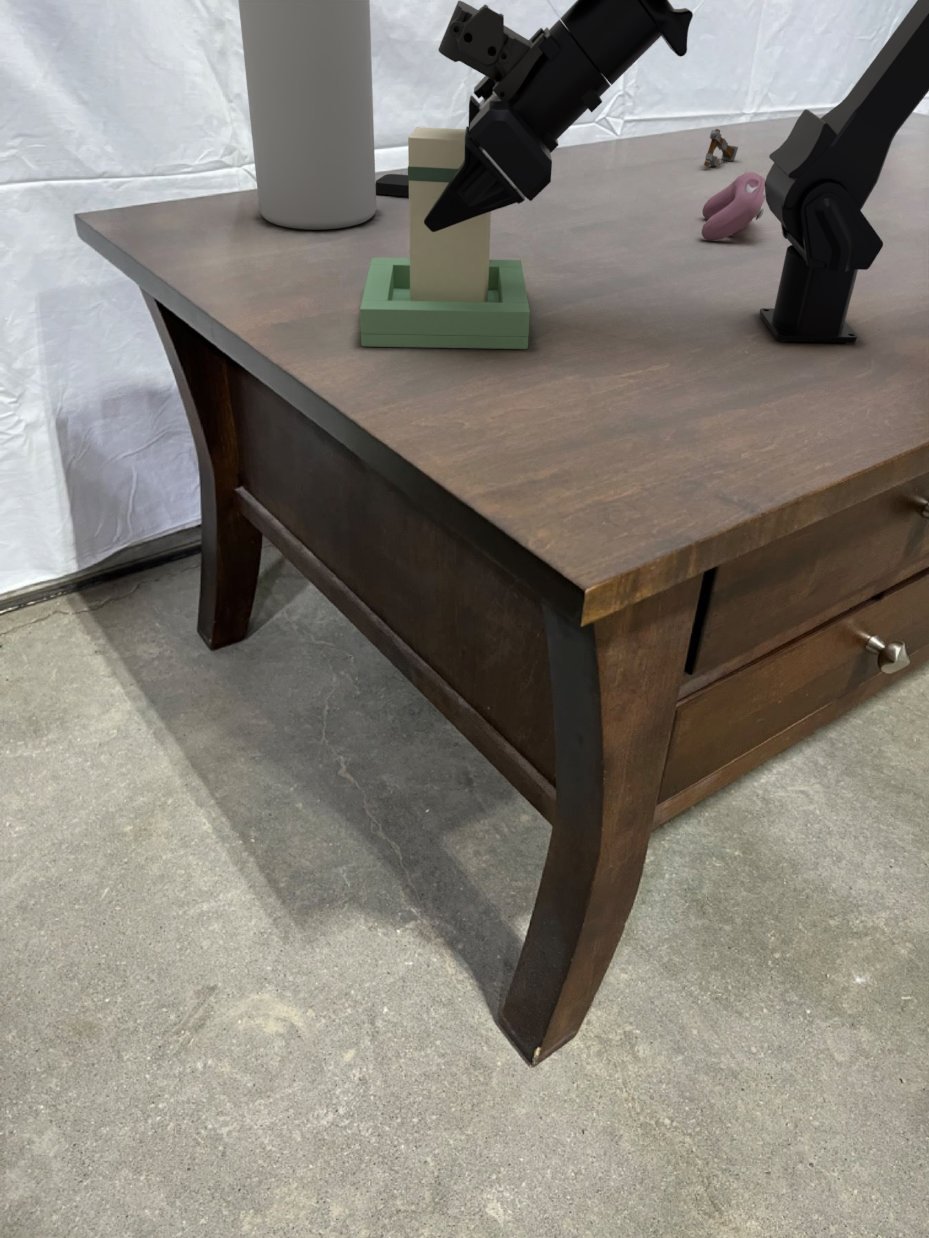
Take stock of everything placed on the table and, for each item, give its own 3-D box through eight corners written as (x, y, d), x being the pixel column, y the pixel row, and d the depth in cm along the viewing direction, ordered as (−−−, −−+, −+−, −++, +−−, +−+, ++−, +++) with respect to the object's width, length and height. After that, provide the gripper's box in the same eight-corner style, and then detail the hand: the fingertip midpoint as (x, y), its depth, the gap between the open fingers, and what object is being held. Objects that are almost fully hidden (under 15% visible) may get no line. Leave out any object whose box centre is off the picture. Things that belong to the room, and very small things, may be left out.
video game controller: (734, 260, 102) (777, 198, 98) (697, 236, 102) (739, 173, 97) (732, 234, 110) (773, 176, 106) (698, 212, 109) (737, 152, 105)
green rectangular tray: (527, 349, 77) (530, 311, 75) (361, 346, 77) (359, 308, 75) (519, 294, 88) (521, 260, 86) (372, 291, 87) (371, 257, 86)
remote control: (372, 199, 115) (496, 205, 112) (371, 182, 114) (496, 188, 111) (386, 189, 119) (507, 195, 115) (385, 173, 118) (507, 178, 114)
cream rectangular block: (488, 299, 83) (494, 130, 76) (483, 315, 80) (489, 141, 72) (417, 294, 84) (416, 126, 76) (409, 311, 81) (407, 137, 73)
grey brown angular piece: (697, 162, 128) (708, 125, 126) (715, 179, 134) (726, 143, 133) (710, 164, 127) (721, 127, 126) (728, 181, 134) (738, 145, 132)
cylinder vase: (358, 197, 113) (346, -67, 98) (391, 226, 104) (384, -61, 89) (249, 205, 110) (220, -68, 95) (274, 236, 100) (246, -62, 85)
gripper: (508, -52, 75) (368, 106, 81) (510, -36, 60) (338, 156, 66) (601, 69, 79) (461, 209, 86) (625, 111, 64) (454, 277, 71)
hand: (431, 211), depth 77 cm, fingers open, 9 cm apart
